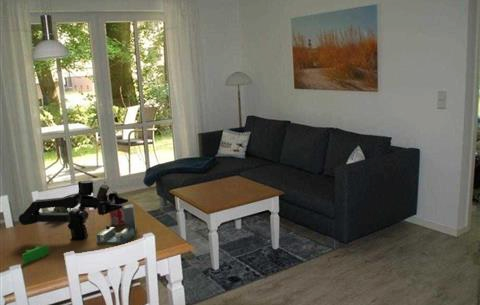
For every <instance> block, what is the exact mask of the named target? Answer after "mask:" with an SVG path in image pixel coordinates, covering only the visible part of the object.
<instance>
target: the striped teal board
mask: <svg viewBox="0 0 480 305" xmlns="http://www.w3.org/2000/svg"><path fill="white" fill-rule="evenodd" d="M134 236H136V232H134V228H126V227H125V228H124V229H123V230H121V231H120V232H116V228H115V226H110V225H109V224H107V225H105V229H103V230H101V231H100V232H99V233H97V234H96V244H105V245H109V244H110V245H111V244H112V245H125V244H126V243H127V242H129V241H130V240H131V239H133V238H134ZM124 243H125V244H124Z"/></svg>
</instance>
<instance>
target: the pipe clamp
mask: <svg viewBox="0 0 480 305" xmlns="http://www.w3.org/2000/svg"><path fill="white" fill-rule="evenodd" d="M47 254H48V255H50V251H49V246H48V244H44V245H42V246H38V245H37V246H35V248H32V249H25V252H24V253H22V254H21V255H22V261H23V264H24V265H26V263H27V264H29V263H31V262H34V261H36V260H38V259H37V258H39V259H41V258H44V257H46V256H48V255H47ZM45 255H46V256H45ZM40 257H41V258H40ZM35 259H36V260H35ZM33 260H34V261H33ZM30 261H31V262H30ZM28 262H29V263H28Z"/></svg>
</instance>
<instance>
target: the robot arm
mask: <svg viewBox="0 0 480 305" xmlns="http://www.w3.org/2000/svg"><path fill="white" fill-rule="evenodd" d="M77 185H78V192H76V193H72V194H68V195H66V196H63V197H55V198H44V199H36V200H34V201H32V202H31V203H30V205H29V206H28V207H27V208H26V209H25V211H24V212H23V213H21V214H20V215H19V216H18V221H19V223H20V224H21V225H22V226H28V225H29V226H30V225H33V224H36V223H68V224H67V228H68V229H69V230H70V235H71V238H70V239H69V240H70V241H83V240H84V239H86V238H87V237H88V236H89V234H88V229H87V228H88V227H86V224H85V223H86V222H87V220H88V219H89V217H90V216H89V212H88V211H87V210H86V208H88V209H89V208H90V209H93V210H97V214H98V215H99V216H105V215H107V214H110V212H112V211H115V210H118V209H121V208H122V206H121V205H119V204H122V203H124V204H125V203H129V199H128V198H125V197H122V196H119V194H118V192H117V191H111V192H110V193H108V191H109V190H110V186H108V184H102V185H100V187H99V189H98V191H97V194H96V195H92V194H93V193H94V180H92V179H86V180H79V181H78V182H77ZM78 206H79V207H78ZM55 207H64V208H67V209H70V211H69V213H47V212H41V211H40V209H48V208H49V209H51V208H55ZM76 207H78V208H76Z"/></svg>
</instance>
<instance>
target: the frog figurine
mask: <svg viewBox="0 0 480 305" xmlns="http://www.w3.org/2000/svg"><path fill="white" fill-rule="evenodd" d="M69 212H70V211H69V209H68V208H64V207H53V210H48V211H47V212H46V213H69Z"/></svg>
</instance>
